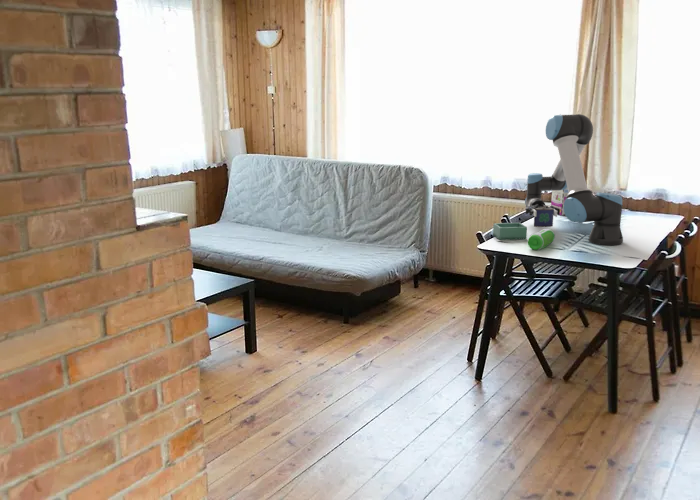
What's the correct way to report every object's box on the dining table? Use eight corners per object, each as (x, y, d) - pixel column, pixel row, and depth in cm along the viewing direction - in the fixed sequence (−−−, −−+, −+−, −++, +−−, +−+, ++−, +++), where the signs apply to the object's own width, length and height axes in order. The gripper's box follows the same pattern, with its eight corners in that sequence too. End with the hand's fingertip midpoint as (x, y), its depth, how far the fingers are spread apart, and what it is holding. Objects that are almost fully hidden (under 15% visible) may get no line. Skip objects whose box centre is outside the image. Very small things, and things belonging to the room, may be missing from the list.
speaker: (541, 252, 296) (542, 235, 294) (526, 249, 301) (527, 233, 299) (555, 244, 310) (556, 228, 308) (540, 242, 314) (541, 226, 312)
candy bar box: (569, 215, 375) (571, 186, 371) (561, 215, 373) (563, 187, 369) (557, 211, 385) (559, 183, 381) (550, 212, 384) (552, 184, 380)
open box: (526, 239, 320) (527, 227, 318) (499, 240, 318) (500, 227, 317) (519, 234, 330) (519, 222, 328) (492, 235, 328) (493, 223, 327)
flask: (552, 225, 326) (553, 204, 323) (553, 227, 323) (554, 205, 320) (533, 226, 326) (534, 204, 323) (534, 227, 323) (535, 205, 321)
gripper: (558, 213, 340) (568, 221, 318) (515, 213, 342) (522, 221, 320) (559, 199, 338) (569, 206, 317) (515, 199, 340) (523, 206, 318)
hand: (545, 214), depth 318 cm, fingers closed on flask, 9 cm apart
